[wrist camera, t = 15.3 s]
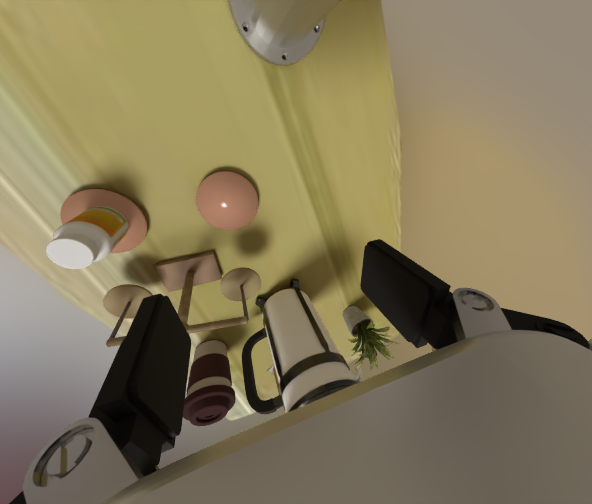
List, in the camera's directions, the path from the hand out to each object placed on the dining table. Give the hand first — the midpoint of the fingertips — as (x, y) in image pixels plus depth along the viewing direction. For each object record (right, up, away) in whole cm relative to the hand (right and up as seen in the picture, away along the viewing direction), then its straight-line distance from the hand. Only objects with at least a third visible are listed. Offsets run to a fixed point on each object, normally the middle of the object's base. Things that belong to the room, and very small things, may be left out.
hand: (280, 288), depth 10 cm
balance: (-20, -2, +31) cm, 36 cm away
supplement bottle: (-28, +6, +21) cm, 35 cm away
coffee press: (-3, -12, +43) cm, 44 cm away
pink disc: (-11, +11, +27) cm, 31 cm away
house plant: (+16, -16, +53) cm, 57 cm away
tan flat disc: (-28, +7, +22) cm, 37 cm away
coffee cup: (-21, -23, +43) cm, 52 cm away
